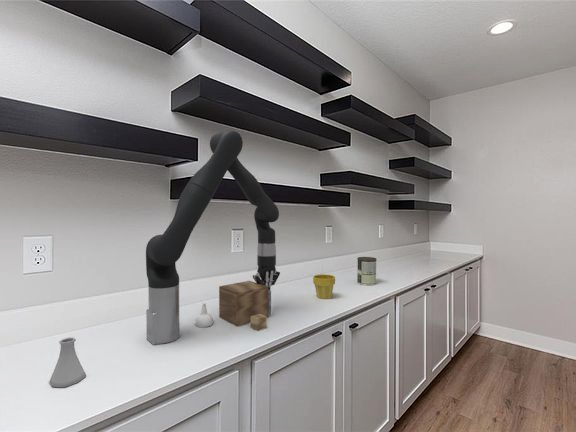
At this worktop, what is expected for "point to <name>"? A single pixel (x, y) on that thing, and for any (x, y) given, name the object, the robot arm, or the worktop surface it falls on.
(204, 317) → the garlic bulb
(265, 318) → the wooden block
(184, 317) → the worktop surface
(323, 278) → the plant pot
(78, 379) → the flask
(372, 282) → the coffee can
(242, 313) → the housing
